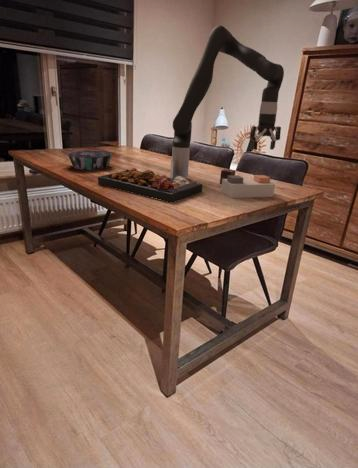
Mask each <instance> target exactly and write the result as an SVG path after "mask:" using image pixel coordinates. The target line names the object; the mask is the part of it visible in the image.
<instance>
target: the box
mask: <svg viewBox="0 0 358 468" xmlns="http://www.w3.org/2000/svg"><path fill="white" fill-rule="evenodd" d="M232 175H236V170H234V169H228V168H224V169H222V170H220V179H219V184H220V185H222V179H227V177H228V176H232Z"/></svg>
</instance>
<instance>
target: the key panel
mask: <svg viewBox="0 0 358 468" xmlns="http://www.w3.org/2000/svg"><path fill="white" fill-rule="evenodd" d="M275 189H276V184H275V183H274V182H272V181H270V183H257V182H255V181H254V178H243V183H238V184H231V183H230V182H228V181H227V179H222V184H221V189H220V191H221V192H222V193H223V194H224V195H226V196H227V197H229V198H231V199H237V198H241V199H242V198H273V197H274V193H275Z"/></svg>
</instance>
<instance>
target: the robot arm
mask: <svg viewBox="0 0 358 468" xmlns="http://www.w3.org/2000/svg"><path fill="white" fill-rule="evenodd" d="M219 53H222V54H225V55H227V56H230V57H233V58H234V59H236V60H238V61H239V62H240V63H242V64H243V65H244V66H246V67H247V68H248V69H250V70H252V71H253V72H255V73H256V74H257V75H258V76H259V77H260V78H261V79H263V80H265V81H267V84H266V87H265V88H264V89H262V94H261V101H260V106H259V107H260V108H259V115H258V125H257V126H255V125H251V127H250V134H249V140H251V141H253V142H252V148H253V150H257V149H258V143H259V142H258V141H259V139H260V138H262V137H269V138H270V140H271V141H270V146H269V149H270V150H273V151H274V149H275V148H276V141H280V139H281V130H282V127H281V126H277V125H276V121H277V112H278V100H279V93H280V89H281V87H282V84H283V81H284V76H285V69H284V67H283V66H282V65H281V64H279V63H275V62H272V61H270V60H269V59H267V58H266V56H264V55H263V54H262V53H260V52H259V51H256V50H255V49H253V48H252V47H249V46H247V45H244V44H243V43H240V42H239V40H237V38H235V37H234V36H233V34H232V33H231V32H230V31H229V29H227V28H226V27H225V26H223V25H221V24H220V25H217V26H215V27H214V28H213V29H212V30H211V31H210V33H209V36H208V38H207V41H206V44H205V47H204V50H203V53H202V56H201V58H200V59H199V63H198V66H197V68H196V70H195V73H194V74H193V77H192V79H191V81H190V84H189V86H188V88H187V91H186V93H185V97H184V99H183V102H182V104H181V106H180V108H179V110H178V112H177V114H176V115H175V117H174V119H173V121H172V129H173V141H172V148H171V149H172V151H171V152H172V153H171V155H172V156H171V160H170V174H169V175H170V176H169V177H170V178H176V177H177V176H181V177H184V178H185V179H186V180H188V179H189V164H190V149H191V147H190V146H191V141H192V127H193V126H192V125H193V124H192V120H193V117H194V115H195V113H196V111H197V109H198V107H199V106H200V104H201V103H202V102H203V100H204V98H205V97H206V95H207V93H208V90H209V89H210V87H211V84H212V83H213V76H214V68H215V66H214V65H215V61H216V59H217V56H218V55H219ZM275 125H276V126H275ZM274 131H275V133H274ZM256 132H257V133H256Z"/></svg>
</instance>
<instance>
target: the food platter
mask: <svg viewBox="0 0 358 468" xmlns="http://www.w3.org/2000/svg"><path fill="white" fill-rule="evenodd" d="M97 183H98V185H100V184H101V185H100V186H104V185H105V186H104V187H107V186H109V187H108V188H111V187H113V188H112V189H115V188H117V189H116V190H119V189H121V190H120V191H123V190H125V191H124V192H127V191H129V193H131V192H133V193H132V194H135V193H136V194H135V195H139V194H140V196H143V195H144V197H147V196H148V197H147V198H151V197H153V198H152V199H154V198H157V199H156V200H158V199H161V200H160V201H162V200H164V201H163V202H166V201H168V202H167V203H170V202H172V203H171V204H173V202H174V203H176V202H179V201H181V199H182V200H184V199H187V198H189V197H192V196H195V195H197V194H200V193H203V184H202V183H199V182H196V181H189V180H188V179H187V180H186V179H185V178H184V177H181V176H177V177H176V178H171V177H170V176H167V175H166V174H163V175H160V174H158V173H155V172H154V171H152V170H151V169H146V170H144V171H140V170H137V168H136V167H133V168H131V169H125V170H122V171H121V170H120V171H118V172H114V173H108V174H103V175H99V176H98V177H97ZM178 200H179V201H178ZM175 201H176V202H175Z"/></svg>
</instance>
